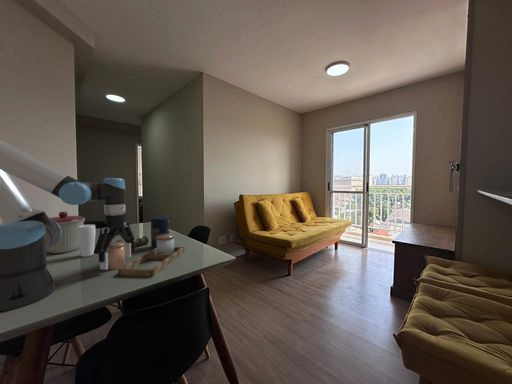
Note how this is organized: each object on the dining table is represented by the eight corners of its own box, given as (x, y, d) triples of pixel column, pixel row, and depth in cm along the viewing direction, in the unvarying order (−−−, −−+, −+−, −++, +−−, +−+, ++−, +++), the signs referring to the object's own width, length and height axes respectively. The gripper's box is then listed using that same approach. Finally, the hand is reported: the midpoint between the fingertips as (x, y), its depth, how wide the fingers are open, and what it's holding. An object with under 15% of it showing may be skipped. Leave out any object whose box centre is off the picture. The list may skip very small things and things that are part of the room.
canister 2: (152, 245, 119) (152, 214, 118) (170, 243, 122) (169, 213, 121) (149, 250, 110) (148, 217, 109) (168, 248, 113) (168, 216, 112)
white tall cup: (99, 253, 105) (98, 224, 105) (87, 258, 98) (86, 227, 98) (87, 252, 106) (86, 224, 105) (74, 257, 99) (73, 227, 98)
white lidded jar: (169, 258, 98) (169, 238, 97) (152, 258, 98) (152, 237, 98) (177, 252, 106) (177, 233, 106) (162, 252, 107) (161, 233, 106)
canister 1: (76, 243, 122) (75, 208, 121) (93, 248, 114) (92, 210, 113) (33, 253, 105) (31, 212, 104) (49, 258, 97) (47, 215, 96)
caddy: (152, 276, 79) (152, 270, 79) (118, 275, 80) (118, 269, 80) (184, 251, 108) (184, 247, 108) (158, 251, 109) (158, 246, 109)
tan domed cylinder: (118, 270, 85) (117, 246, 85) (104, 269, 85) (103, 246, 85) (129, 264, 91) (128, 242, 91) (115, 263, 92) (114, 241, 91)
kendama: (152, 245, 120) (119, 255, 102) (140, 244, 124) (106, 254, 105) (152, 235, 120) (119, 243, 102) (140, 234, 124) (106, 242, 105)
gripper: (99, 219, 75) (101, 275, 76) (142, 210, 100) (143, 253, 100) (80, 218, 75) (82, 275, 76) (127, 210, 100) (128, 252, 101)
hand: (116, 262), depth 88 cm, fingers open, 13 cm apart
